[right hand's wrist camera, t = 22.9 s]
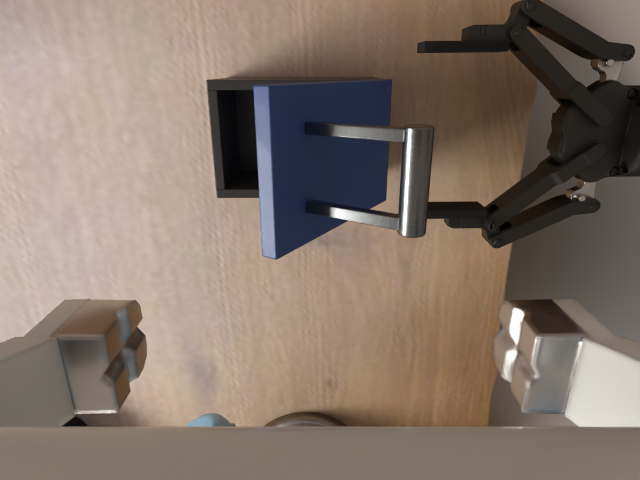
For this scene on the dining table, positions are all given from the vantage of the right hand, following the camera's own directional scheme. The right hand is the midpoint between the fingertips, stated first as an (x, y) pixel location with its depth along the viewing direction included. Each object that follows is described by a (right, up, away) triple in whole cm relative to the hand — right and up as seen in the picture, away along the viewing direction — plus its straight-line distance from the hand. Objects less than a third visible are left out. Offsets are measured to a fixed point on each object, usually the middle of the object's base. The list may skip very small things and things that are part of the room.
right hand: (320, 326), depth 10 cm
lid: (+1, +8, +20) cm, 22 cm away
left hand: (+8, +11, +28) cm, 31 cm away
